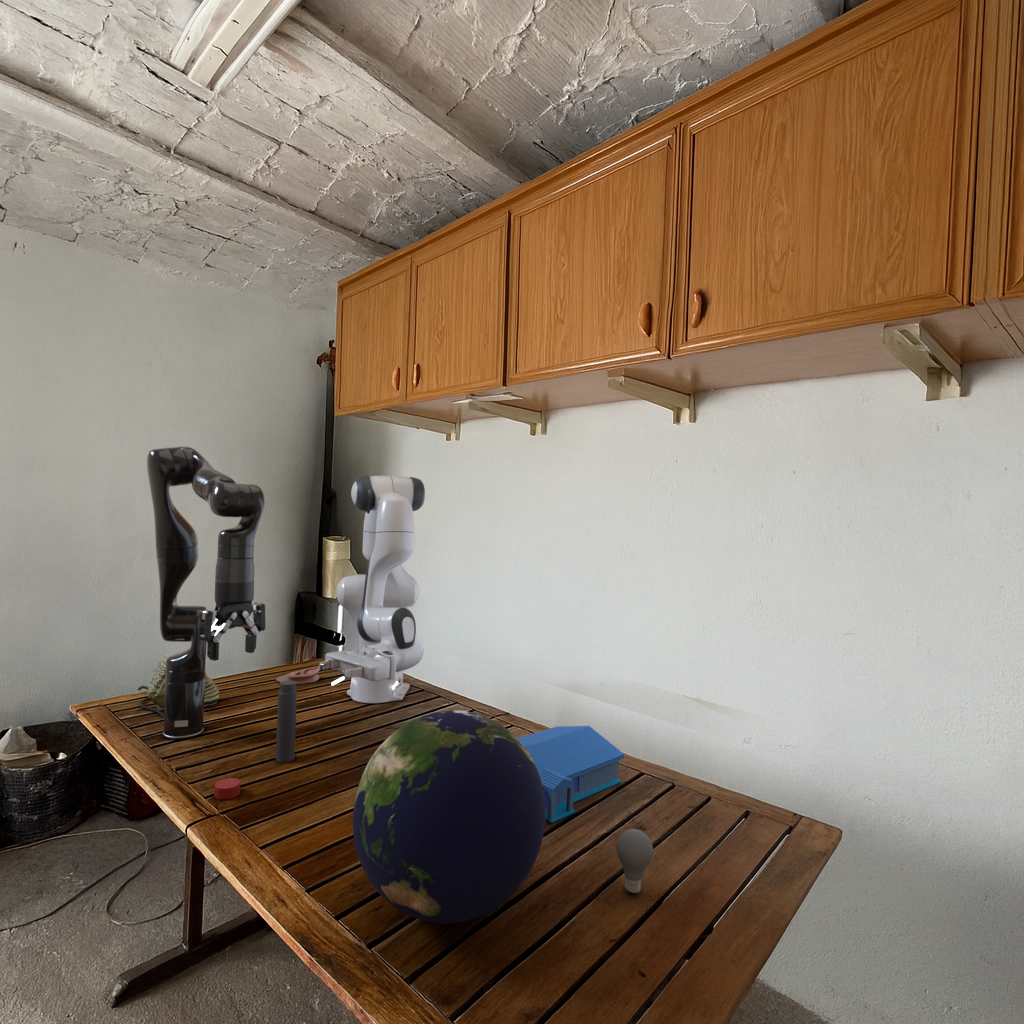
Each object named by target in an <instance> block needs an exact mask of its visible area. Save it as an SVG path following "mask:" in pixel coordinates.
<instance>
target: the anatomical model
mask: <svg viewBox="0 0 1024 1024" xmlns="http://www.w3.org/2000/svg"><path fill="white" fill-rule="evenodd" d="M320 671H321V669H319V665H316V666H313V667H308V668H304V669H303V668H302V669H300V670H299V669H298V670H297V671H291V672H289V673H286V674H284V675H280V676H277V678H276V679H275V681H276V682H279V683H280V682H282V681H289V680H290V681H295V682H296V685H299V684H300V685H301V684H303V685H304V684H310V683H315V682H317V681H318V680H319V679H320V675H319V672H320Z"/></svg>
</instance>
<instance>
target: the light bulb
mask: <svg viewBox="0 0 1024 1024" xmlns="http://www.w3.org/2000/svg"><path fill="white" fill-rule="evenodd" d="M615 849H616V854H617V857H618V859H619V861H620V863H621V865H622V867H623V873H624V874H623V875H624V876H625V878H624V888H625V890H627V891H628V892H630V893H634V894H635V893H639V892H640V891H641V889H642V887H641V886H642V879H643V877H644V875H645V871H646V868H647V867H648V866H649V864H650V863H651V861H652V859H653V855H654V847H653V843H652V841H651V838H649V836H648V835H647V834H646V833H645V832H643V831H642V830H641V829H636V828H629V829H627V830H625V831H623V832H622V833H621V834H620V835H619V837H618V839H617V841H616V847H615Z"/></svg>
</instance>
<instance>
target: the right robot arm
mask: <svg viewBox="0 0 1024 1024" xmlns="http://www.w3.org/2000/svg"><path fill="white" fill-rule="evenodd" d="M350 492H351V493H350V496H351V501H352V503H353V506H354V507H355V508H357V509H358V510H360V511H362V512H365V513H364V518H363V519H364V520H363V531H362V549H361V550H362V551H361V552H362V555H363V557H364V559H366V560H367V564H366V570H365V571H366V572H365V573H364V574H361V573H359V574H352V575H346V576H343V577H342V578H341V579H340V580H339V582H338V584H337V586H336V590H335V596H336V599H337V601H338V603H339V604H340V606H341V607H342V608H343V609H345V610H346V611H347V612H348V613H349V614H350V615H351V616H352V618H353V619H354V622H355V624H356V627H357V638H358V639H357V640H358V648H357V649H358V651H357V652H356V651H353V650H338V651H330V652H327V653H325V655H324V661H321V662H320V663H319V664H318V666H319V669H320V671H327V670H329V669H332V670H335V671H339V672H341V673H342V674H341V677H339V678H337V679H335V680H334V681H332V682H331V686H334V685H336V684H338V683H340V682H342V681H344V680H345V678H346V679H348V678H350V679H351V680H350V688H349V689H347V690H346V693H345V694H346V695H347V696H350V698H351V699H352V700H353V701H355V702H359V703H365V704H383V703H388V702H395V701H402V700H403V699H404V697H405V696H406V695H407V693H408V692H409V689H410V688H411V685H410V683H407V682H405V681H404V671H406V670H409V669H411V668H413V667H415V666H417V665H418V664H419V663H420V662H421V661H422V659H423V657H424V653H425V650H424V649H425V647H424V644H423V642H422V641H421V639H420V638H419V637H418V635H417V624H416V619H415V616H414V614H413V612H412V611H411V610H410V609H408V608H410V607H413V606H414V605H415V604H416V603H417V601H418V600H419V597H420V586H419V583H418V580H416V579H415V578H414V577H413V576H412V575H411V574H409V572H408V571H407V570H406V568H405V567H404V565H403V564H404V563H405V562H407V561H408V560H409V559H410V557H411V556H412V555H413V553H414V549H415V546H416V545H415V542H416V539H415V538H416V536H415V535H416V534H415V533H416V531H415V530H416V528H415V517H414V512H416V511H418V510H420V509H421V508H422V507H423V506H424V503H425V500H426V488H425V484H424V482H423V481H422V480H421V478H417V477H413V476H409V477H407V476H401V475H392V474H389V475H370V476H369V474H368V475H361V476H358V477H357V478H355V479H354V481H353V484H352V487H351V490H350Z"/></svg>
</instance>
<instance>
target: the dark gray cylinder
mask: <svg viewBox="0 0 1024 1024" xmlns="http://www.w3.org/2000/svg"><path fill="white" fill-rule="evenodd" d="M296 688H297V684H296V682H295V681H290V680H289V681H282V682H279V690H278V691H277V711H276V712H277V715H276V716H277V718H276V739H275V740H276V742H275V762H278V763H289V762H291V761H293V760H295V757H296V755H295V752H296V730H297V728H296V726H297V725H296V724H297V703H298V702H297V701H298V699H297V698H298V689H296Z"/></svg>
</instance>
